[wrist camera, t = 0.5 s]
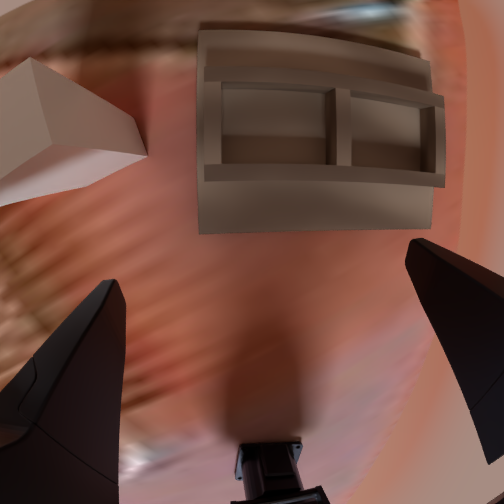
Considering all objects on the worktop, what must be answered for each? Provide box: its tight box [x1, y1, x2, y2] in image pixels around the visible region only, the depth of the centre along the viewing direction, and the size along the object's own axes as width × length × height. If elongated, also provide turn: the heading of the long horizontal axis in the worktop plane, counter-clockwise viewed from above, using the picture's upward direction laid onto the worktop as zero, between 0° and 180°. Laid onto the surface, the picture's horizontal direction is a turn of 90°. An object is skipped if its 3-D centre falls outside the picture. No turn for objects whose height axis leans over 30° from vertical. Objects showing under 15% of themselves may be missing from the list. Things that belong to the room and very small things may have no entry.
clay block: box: [0, 57, 148, 206], centre depth 13 cm, size 3×5×14 cm, turn 110°
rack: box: [197, 30, 446, 234], centre depth 20 cm, size 14×18×3 cm
